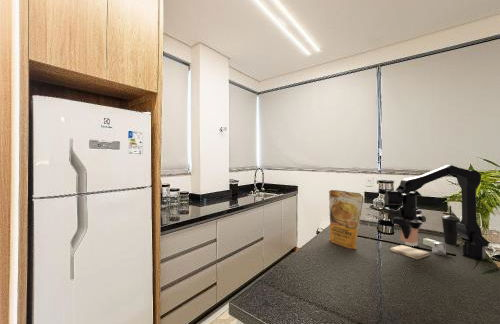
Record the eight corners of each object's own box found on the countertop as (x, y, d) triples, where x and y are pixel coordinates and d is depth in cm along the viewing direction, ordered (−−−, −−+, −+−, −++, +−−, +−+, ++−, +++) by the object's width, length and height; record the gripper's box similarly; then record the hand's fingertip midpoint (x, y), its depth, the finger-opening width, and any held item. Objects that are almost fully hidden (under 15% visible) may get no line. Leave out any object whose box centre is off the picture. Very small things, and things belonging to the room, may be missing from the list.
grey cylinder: (447, 254, 110) (447, 243, 110) (442, 256, 107) (442, 245, 107) (435, 250, 114) (435, 240, 114) (430, 252, 112) (430, 242, 112)
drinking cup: (464, 245, 121) (463, 207, 122) (449, 245, 122) (449, 207, 122) (451, 240, 129) (451, 204, 129) (437, 240, 129) (437, 204, 129)
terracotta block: (417, 241, 110) (417, 229, 110) (412, 243, 108) (412, 230, 108) (406, 238, 115) (406, 226, 115) (400, 240, 112) (400, 227, 112)
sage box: (439, 247, 119) (439, 241, 119) (434, 248, 118) (434, 242, 118) (427, 243, 124) (427, 238, 124) (423, 244, 124) (423, 238, 124)
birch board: (429, 255, 108) (429, 252, 108) (417, 259, 103) (417, 256, 103) (401, 247, 119) (401, 244, 119) (390, 250, 114) (390, 248, 114)
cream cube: (417, 245, 121) (417, 238, 121) (413, 246, 119) (413, 239, 119) (409, 243, 125) (409, 235, 125) (405, 244, 123) (405, 237, 123)
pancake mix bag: (332, 238, 132) (332, 189, 133) (364, 249, 116) (364, 192, 116) (324, 240, 129) (324, 189, 129) (355, 251, 112) (355, 193, 113)
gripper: (402, 201, 123) (402, 231, 123) (380, 204, 114) (381, 236, 114) (426, 204, 113) (426, 236, 113) (405, 207, 104) (405, 242, 104)
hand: (409, 237), depth 111 cm, fingers closed on terracotta block, 5 cm apart
